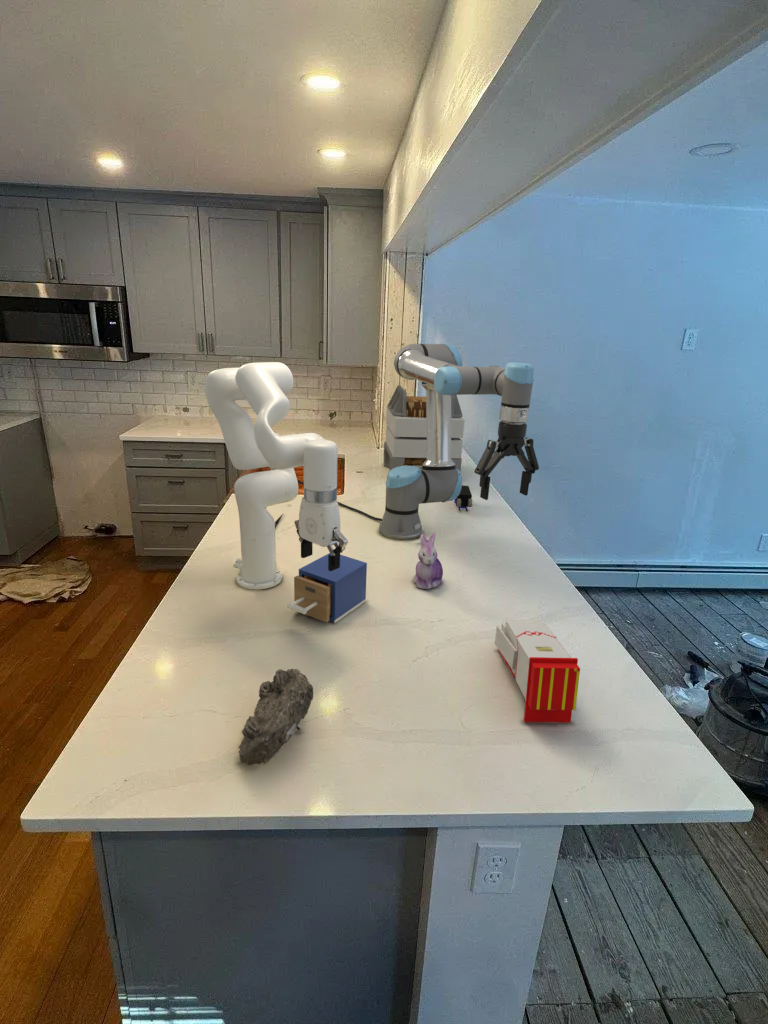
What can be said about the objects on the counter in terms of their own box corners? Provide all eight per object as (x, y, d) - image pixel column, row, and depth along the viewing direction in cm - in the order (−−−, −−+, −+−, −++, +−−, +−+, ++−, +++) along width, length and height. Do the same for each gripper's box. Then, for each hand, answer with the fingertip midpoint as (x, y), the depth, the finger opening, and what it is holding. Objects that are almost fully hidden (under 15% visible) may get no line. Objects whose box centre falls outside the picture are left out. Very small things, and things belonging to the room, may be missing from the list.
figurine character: (472, 516, 224) (466, 500, 237) (474, 499, 220) (469, 483, 234) (455, 515, 224) (451, 499, 237) (457, 498, 220) (452, 483, 234)
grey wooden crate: (382, 463, 289) (386, 382, 275) (445, 464, 293) (451, 384, 279) (390, 482, 257) (394, 392, 243) (460, 483, 261) (468, 394, 247)
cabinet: (334, 622, 142) (335, 581, 138) (299, 608, 148) (298, 569, 144) (365, 601, 153) (367, 562, 149) (331, 589, 159) (331, 551, 155)
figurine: (423, 593, 159) (426, 543, 153) (405, 577, 167) (408, 530, 162) (451, 587, 163) (455, 538, 158) (432, 572, 171) (436, 526, 166)
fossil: (254, 669, 115) (309, 637, 110) (285, 700, 118) (340, 670, 113) (215, 759, 96) (280, 724, 91) (253, 792, 99) (319, 761, 94)
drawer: (312, 632, 136) (312, 597, 132) (279, 619, 141) (278, 585, 138) (355, 603, 150) (356, 570, 147) (324, 591, 155) (324, 560, 152)
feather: (290, 508, 223) (292, 504, 223) (272, 532, 197) (275, 527, 196) (286, 505, 223) (289, 501, 223) (268, 529, 197) (271, 525, 196)
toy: (541, 605, 135) (589, 664, 106) (536, 657, 138) (581, 729, 108) (490, 604, 135) (524, 663, 105) (486, 656, 137) (518, 728, 108)
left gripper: (283, 488, 132) (284, 556, 138) (334, 507, 121) (333, 579, 127) (308, 482, 137) (308, 547, 143) (358, 500, 126) (356, 569, 132)
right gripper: (482, 426, 145) (474, 504, 153) (558, 422, 155) (547, 496, 163) (466, 421, 152) (459, 496, 159) (540, 417, 162) (531, 488, 169)
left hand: (320, 562), depth 135 cm, fingers open, 9 cm apart
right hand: (504, 496), depth 161 cm, fingers open, 13 cm apart
